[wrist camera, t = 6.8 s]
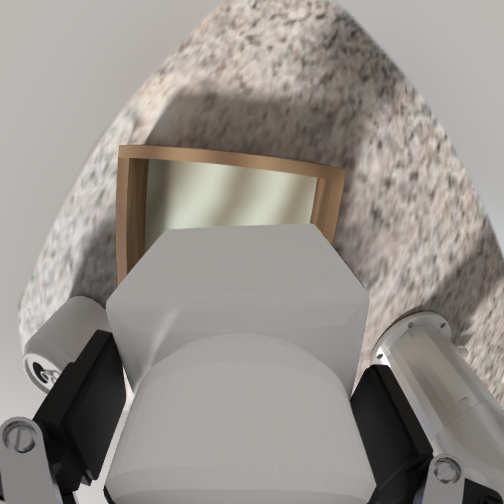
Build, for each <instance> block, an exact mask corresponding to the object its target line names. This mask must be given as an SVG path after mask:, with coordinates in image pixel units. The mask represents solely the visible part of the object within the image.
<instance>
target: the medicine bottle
mask: <svg viewBox="0 0 504 504" xmlns="http://www.w3.org/2000/svg"><path fill="white" fill-rule="evenodd" d="M368 307H369V294H368V291H367V290H366V288H365V287H364V286H363V284H362V283H361V282H360V280H359V279H358V278H357V277H356V275H355V274H354V273H353V271H352V270H351V269H350V267H349V266H348V265H347V264H346V262H345V261H344V260H343V259H342V257H341V256H340V255H339V253H338V252H337V251H336V250H335V248H334V247H333V246H332V245H331V243H330V242H329V241H328V240H327V239H326V237H325V236H324V235H323V234H322V232H321V231H320V230H319V229H318V227H317V226H316V225H315V224H311V223H306V224H276V225H250V226H227V227H206V228H187V229H169V230H166V231H164V232H163V234H162V235H161V236H160V237H159V238H158V239H157V240H156V242H155V243H154V244H153V245H152V246H151V247H150V249H149V250H148V251H147V252H146V253H145V254H144V256H143V257H142V258H141V259H140V260H139V262H138V263H137V264H136V265H135V266H134V267H133V269H132V270H131V271H130V272H129V274H128V275H127V276H126V277H125V278H124V280H123V281H122V282H121V283H120V285H119V286H118V287H117V288H116V290H115V291H114V292H113V293H112V295H111V296H110V297H109V299H108V300H107V302H106V313H107V316H108V320H109V323H110V327H111V330H112V333H113V336H114V340H115V343H116V346H117V349H118V352H119V355H120V358H121V361H122V364H123V367H124V370H125V372H126V375H127V378H128V381H129V383H130V386H131V389H132V391H133V394H134V396H135V398H134V400H133V403H132V406H131V408H130V411H129V414H128V417H127V420H126V422H125V425H124V428H123V431H122V434H121V436H120V440H119V442H118V445H117V448H116V451H115V454H114V458H113V460H112V464H111V466H110V469H109V472H108V475H107V479H106V482H105V485H104V489H103V491H104V496H105V497H106V499H107V501H108V503H109V504H376V502H377V500H378V498H379V489H378V486H377V483H376V479H375V476H374V473H373V470H372V467H371V464H370V461H369V458H368V455H367V452H366V449H365V446H364V443H363V440H362V437H361V434H360V431H359V428H358V425H357V422H356V419H355V416H354V414H353V411H352V408H351V405H350V398H351V394H352V389H353V385H354V381H355V376H356V372H357V367H358V363H359V358H360V353H361V348H362V343H363V337H364V332H365V326H366V320H367V314H368Z"/></svg>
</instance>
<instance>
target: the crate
mask: <svg viewBox="0 0 504 504" xmlns="http://www.w3.org/2000/svg"><path fill="white" fill-rule="evenodd" d="M345 175H346V170H344V169H340V168H337V167H333V166H329V165H324V164H318V163H312V162H306V161H300V160H294V159H288V158H281V157H274V156H267V155H259V154H251V153H243V152H234V151H225V150H215V149H204V148H192V147H178V146H161V145H119V154H118V169H117V189H116V265H117V285H118V286H119V285H120V283H121V282H122V281H123V280H124V278H125V277H126V276H127V275H128V274H129V272H130V271H131V270H132V269H133V267H134V266H135V265H136V264H137V263H138V262H139V260H140V259H141V258H142V257H143V256H144V254H145V253H146V252H147V251H148V250H149V249H150V247H151V246H152V245H153V244H154V243H155V242H156V240H157V239H158V238H159V237H160V236H161V235H162V234H163V232H164V231H166V230H169V229H187V228H206V227H227V226H250V225H276V224H306V223H311V224H315V225H316V226H317V227H318V229H319V230H320V231H321V232H322V234H323V235H324V236H325V237H326V239H327V240H328V241H329V242H330V243H331V245H332V244H333V239H334V234H335V229H336V224H337V219H338V214H339V209H340V203H341V198H342V192H343V187H344V181H345Z"/></svg>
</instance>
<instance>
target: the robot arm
mask: <svg viewBox="0 0 504 504" xmlns="http://www.w3.org/2000/svg"><path fill="white" fill-rule="evenodd" d="M451 339H452V332H451V328H450V325H449V324H448V322H447V321H446V320H445V319H444V318H443V317H442V316H441V315H439V314H438V313H434V312H426V311H424V312H419V313H415V314H412V315H409V316H407V317H405V318H403V319H402V320H400V321H399V322H397V323H396V324H394V325H393V326H392V327H391V328H390V329H389V330H387V331H386V332H385V334H384V335H383V336H382V337H381V338H380V339H379V341H378V343H377V344H376V346H375V348H374V350H373V352H372V355H371V359H370V367H369V368H367V369H366V370H365V371H364V373H363V375H362V377H361V379H360V381H359V383H358V385H357V387H356V389H355V391H354V393H353V395H352V397H351V399H350V405H351V408H352V411H353V414H354V416H355V419H356V422H357V425H358V428H359V431H360V434H361V437H362V440H363V443H364V446H365V449H366V452H367V455H368V458H369V461H370V464H371V467H372V470H373V473H374V476H375V479H376V483H377V486H378V489H379V498H378V500H377V502H376V504H504V410H503V409H502V407H501V406H500V404H499V403H498V402H497V401H496V399H495V398H494V397H493V395H492V394H491V393H490V391H489V390H488V389H487V387H486V386H485V385H484V384H483V382H482V381H481V380H480V378H479V377H478V376H477V375H476V373H475V372H474V371H473V370H472V368H471V367H470V366H469V365H468V364H467V362H466V361H465V360H464V359H463V357H466V356H467V354H468V350H467V349H466V348H459V349H458V348H457V347H456V346H455V345H454V344H453V343H452V341H451ZM125 402H126V389H125V382H124V374H123V365H122V361H121V358H120V355H119V352H118V349H117V346H116V343H115V340H114V336H113V333H112V332H108V331H104V330H100V329H98V330H96V331H95V333H94V334H93V335H92V337H91V338H90V340H89V341H88V343H87V344H86V346H85V347H84V349H83V350H82V352H81V353H80V355H79V356H78V358H77V359H76V361H75V362H70V363H68V364H67V365H66V367H65V368H64V370H63V371H62V373H61V374H60V376H59V377H58V379H57V380H56V382H55V384H54V385H53V387H52V388H51V390H50V391H49V393H48V395H47V396H46V398H45V400H44V401H43V403H42V404H41V406H40V408H39V409H38V411H37V413H36V414H35V416H34V418H33V419H32V420H31V419H28V418H25V417H13V418H10V419H8V420H6V421H5V422H4V423H3V424H2V425H1V426H0V504H79V502H78V499H77V496H76V493H75V491H76V490H78V488H79V485H80V483H82V484H85V485H88V486H90V485H91V482H92V480H97V479H98V477H99V474H100V471H101V468H102V465H103V463H104V460H105V457H106V454H107V451H108V448H109V445H110V443H111V440H112V437H113V434H114V432H115V429H116V426H117V424H118V421H119V418H120V415H121V413H122V410H123V408H124V405H125Z"/></svg>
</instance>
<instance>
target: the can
mask: <svg viewBox="0 0 504 504" xmlns="http://www.w3.org/2000/svg"><path fill="white" fill-rule="evenodd" d="M98 329H100V330H104V331H108V332H112V330H111V327H110V323H109V320H108V316H107V313H106V310H105V309H104V308H103V307H102V306H101V305H100V304H99V303H97V302H96V301H94V300H92V299H91V298H87V297H84V296H74V297H72V298H70V299H68V300H67V301H66V302H65V303H64V304H63V305H62V306H61V307H60V308H59V309H58V310H57V311H56V312H55V313H54V314H53V315H52V316H51V318H50V319H49V320H48V321H47V322H46V323H45V324H44V325H43V326H42V327H41V328H40V329H39V330H38V331H37V332H36V333H35V334H34V335H33V336H32V338H31V339H30V340H29V341H28V342H27V344H26V345H25V350H24V354H25V355H24V356H23V358H22V365H23V368H24V371H25V373H26V375H27V377H28V379H29V380H30V381H31V382H32V384H33V385H34V386H35V387H36V388H37V389H38V390H39V391H41V392H42V393H44V394H45V395H48V393H49V391H50V390H51V388H52V387H53V385H54V384H55V382H56V380H57V379H58V377H59V376H60V374H61V373H62V371H63V370H64V368H65V367H66V365H67V364H68V363H70V362H75V361H76V359H77V358H78V356H79V355H80V353H81V352H82V350H83V349H84V347H85V346H86V344H87V343H88V341H89V340H90V338H91V337H92V335H93V334H94V333H95V331H96V330H98Z"/></svg>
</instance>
